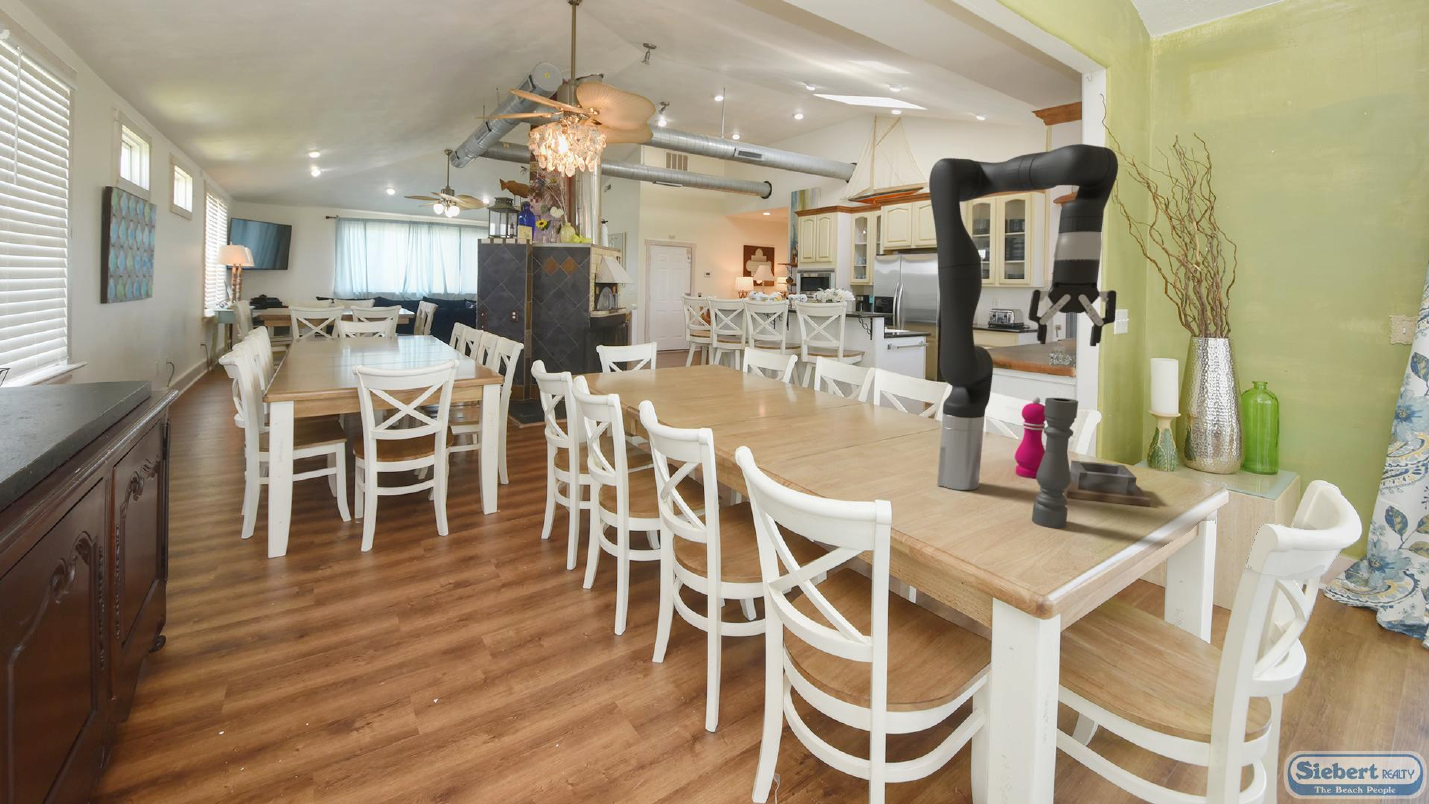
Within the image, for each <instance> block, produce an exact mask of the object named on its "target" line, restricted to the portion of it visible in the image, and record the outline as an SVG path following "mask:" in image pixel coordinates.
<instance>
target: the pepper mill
mask: <svg viewBox="0 0 1429 804" xmlns="http://www.w3.org/2000/svg"><path fill="white" fill-rule="evenodd" d="M1044 409H1045V404H1042V403H1041V399H1040V397H1039V396H1036V397H1033V398H1032V402H1030V403H1027V404H1026V405H1024V406H1023V408H1022V409H1021V416H1022V419H1024V421H1023V422H1022V428H1024V429H1023V430H1024V432H1023V437H1022V441H1020V442H1021V443H1019V445H1018V447H1017V449H1016V451H1015V454H1014V460H1015V461H1016V463H1017V464H1018V465H1016V466H1015V474H1016V475H1017V476H1019V477H1023V478H1027V479H1028V478H1029V479H1037V478H1036V476H1037V472H1038V469H1039V466H1040V464H1041V461H1042V458H1043V456H1044V453H1045V450H1046V448H1045V447H1044V444H1043V439H1042V437H1043V432H1044V428H1046V427H1045V426H1046V423H1045V422H1047V421H1046V420H1045V415H1044Z"/></svg>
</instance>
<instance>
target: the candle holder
mask: <svg viewBox="0 0 1429 804" xmlns="http://www.w3.org/2000/svg"><path fill="white" fill-rule="evenodd" d="M1044 406H1045V409H1044V415H1045V420H1046V421H1045V422H1046V424H1047V426H1046V427H1045V428H1044V429H1043V433H1044V434H1045V436H1046V443H1045V453H1044V456H1043V458H1042V461H1041V464H1040V466H1039V469H1038V472H1037V476H1036V478H1035V479H1036V482H1037V484H1038V485H1039V486H1040V487H1039V490H1040V491H1039V492H1038V494H1036V496H1035V502H1033V505H1032V513H1031V514H1032V515H1031V521H1032V522H1033V523H1034V524H1036V525H1038V526H1041V527H1045V528H1052V529H1062V528H1065V527H1066V526H1067V520H1068V507H1067V504H1068V500H1067V498H1066V496H1065V494H1064V492H1065V489H1066V488H1067V487H1068V486H1069V485H1070V482H1071V475H1070V469H1071V467H1070V462H1069V457H1068V450H1069V449H1068V447H1069V441H1070V440H1069V439H1071V437H1073V436H1074V430H1072V429H1071V427H1072V425H1073V424H1074V423H1075V422H1076V421H1075V420H1076V419H1077V416H1078V415H1077V414H1078V407H1079V400H1077V399H1074V398H1073V399H1072V398H1065V397H1046V398H1045V401H1044Z"/></svg>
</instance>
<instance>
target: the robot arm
mask: <svg viewBox="0 0 1429 804" xmlns="http://www.w3.org/2000/svg"><path fill="white" fill-rule="evenodd" d="M1118 162H1119V161H1118V157H1117V155H1116V153H1115V151H1114V150H1112V149H1111V148H1109V147H1105V146H1099V145H1092V144H1085V143H1078V144H1070V145H1066V146H1065V145H1064V146H1062V147H1058V148H1056V149H1052V150H1050V151H1040V152H1035V153H1034V152H1033V153H1028V154H1022V155H1019V156H1015V157H1012V158H1010V159H1008V160H1006V161H1001V162H1000V161H999V162H987V161H979V160H978V161H977V160H973V159H970V158H955V157H953V158H951V157H945V158H941V159H939V160H937V161H936V162H935V163H934V165H933V166H932V168H931V171H930V174H929V179H928V180H929V182H928V188H929V198H930V204H931V209H932V216H933V221H934V228H935V231H934V232H935V240H936V251H937V278H938V280H937V281H938V289H939V303H940V320H941V322H940V323H941V333H940V334H941V337H940V338H941V339H940V354H939V355H940V357H939V367H940V372H941V375H942V378H943V379H944V381H945V382H946V383H947V384H949V385H950V386H951V391H950V393H949V395H948V396H947V398H946V399H945V400H944V401H943V406H942V418H941V419H942V420H941V429H940V431H941V432H940V433H941V434H940V443H939V445H940V446H939V455H938V457H939V458H938V469H937V470H938V471H937V485H936V486H939V487H944V488H948V489H952V490H958V491H970V490H971V491H972V490H976V489H978V488H979V484H980V475H981V474H980V473H981V461H982V451H983V441H984V440H983V439H984V429H985V428H984V426H985V414H986V408H987V406H988V405H989V402H990V398H991V391H992V385H993V383H992V382H993V375H994V362H993V358H992V356H991V354H990V352H989V351H988V350H987V349H986V348H985V347H983V346H981V345H975V339H974V337H975V336H974V320H975V315H976V311H977V309H978V304H979V302H980V299H981V294H982V288H983V276H982V275H983V274H982V272H983V271H982V261H981V260H982V259H981V255H980V252H979V250H978V248H977V246H976V244H975V242H974V240H973V239H972V237H971V235H970V233H969V231H968V230H967V228H966V226H965V223H964V222H963V218H962V213H961V211H962V210H961V203H964V202H969V201H972V200H975V199H979V198H982V197H986V196H990V195H993V194H998V193H1005V192H1008V193H1009V192H1031V191H1032V192H1033V191H1043V190H1050V189H1053V188H1055V187H1057V186H1075V187H1078V188H1077V189H1078V190H1077V192H1076V194H1075V198H1074V199H1073V200H1069V201H1067V202H1065V203H1063V205H1062V207H1061V208H1060V213H1059V214H1060V215H1059V221H1058V235H1057V239H1056V242H1055V247H1054V249H1055V250H1054V253H1053V258H1054V259H1053V267H1052V276H1051V277H1052V278H1051V286H1050V289H1049V290H1040V289H1033V290H1032V293H1031V298H1030V305H1029V311H1028V317H1027V318H1028V320H1029V321H1031V322H1033V323H1036V324H1037V330H1036V332H1037V333H1036V340H1037V342H1039V344H1040V345H1046V342H1047V332H1048V325H1047V323H1048V322H1049V321H1050V320H1051V319H1052V318H1053V317H1054V316H1055V315H1056V314H1057V313H1058V312H1060V313H1061V314H1069V313H1074V314H1082V313H1085V315H1086V316H1087V317H1088V318H1089V319H1090V321H1091V322H1092V323H1093V325H1092V326H1091V329H1090V338H1089V347H1096V346H1097V344H1100V343H1101V342H1102V331H1103V327H1104V326H1105V325H1108V324H1113V323H1114V322H1115V321H1116V313H1117V312H1116V310H1117V291H1116V290H1115V289H1110V290H1106V291H1104V290H1103V291H1102V290H1101V291H1100V290H1099V289H1098V281H1099V272H1100V264H1101V255H1102V246H1103V245H1102V232H1103V225H1104V224H1103V223H1104V216H1105V215H1104V214H1105V213H1104V212H1105V208H1106V206H1107V203H1108V201H1109V199H1110V196H1111V193H1112V190H1113V187H1114V186H1115V183H1116V180H1117V176H1118V173H1119V172H1118V171H1119V163H1118ZM1046 297H1048V299H1049V301H1050V302H1051V305H1050V306H1049V308H1048V309H1046V311H1045V312H1044V313H1043V314H1042V315H1041V316H1040V315H1038V311H1039V305H1040V302H1043V301H1044V300H1045V298H1046ZM1098 298H1101V302H1103V303H1105V304H1104V305H1105V309H1104V317H1101V316H1100V315H1099V313H1098V311H1097V310H1096V309H1095V307H1094V306H1093V304H1094V302H1096V300H1098Z"/></svg>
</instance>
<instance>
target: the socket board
mask: <svg viewBox="0 0 1429 804" xmlns="http://www.w3.org/2000/svg"><path fill="white" fill-rule="evenodd" d="M1070 475H1071V482H1070V485H1069V486H1068V487H1067V488H1066V489H1065V492H1064V493H1063V495H1064V497H1065V498H1066V499H1076V500H1084V501H1095V502H1103V503H1112V504H1113V503H1114V504H1120V505H1121V504H1122V505H1130V504H1133V505H1132V506H1140V505H1141V507H1151V501H1152V499H1151V498H1149V496H1148V495H1147V494H1145V492H1144V491H1143V490H1142V489H1141V488H1140V487H1139V486H1138V485H1137V477H1136V475H1134V474H1133V472H1132V471H1130V470H1129V468H1128V467H1127V466H1125V464H1115V463H1105V462H1104V463H1103V462H1093V461H1092V462H1091V461H1080V460H1071V462H1070Z"/></svg>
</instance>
